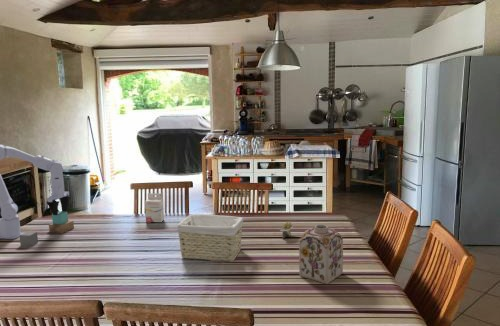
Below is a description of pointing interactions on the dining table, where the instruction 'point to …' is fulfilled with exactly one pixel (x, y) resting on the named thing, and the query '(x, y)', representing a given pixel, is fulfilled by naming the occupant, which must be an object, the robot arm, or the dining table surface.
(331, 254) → the decorative jar
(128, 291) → the dining table surface
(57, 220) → the teal cube
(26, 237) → the gray cube
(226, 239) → the storage basket
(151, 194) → the ink cartridge box
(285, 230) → the small potted plant
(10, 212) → the robot arm
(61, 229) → the base block
